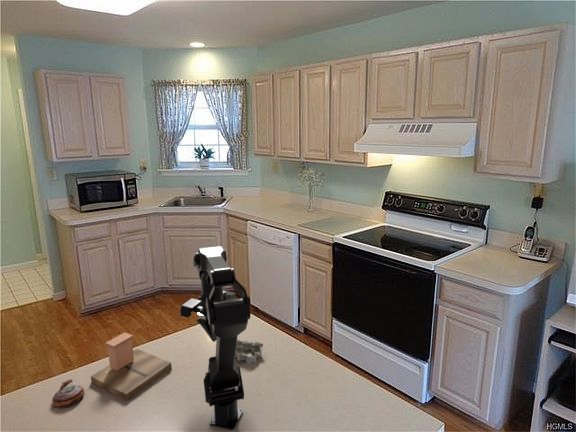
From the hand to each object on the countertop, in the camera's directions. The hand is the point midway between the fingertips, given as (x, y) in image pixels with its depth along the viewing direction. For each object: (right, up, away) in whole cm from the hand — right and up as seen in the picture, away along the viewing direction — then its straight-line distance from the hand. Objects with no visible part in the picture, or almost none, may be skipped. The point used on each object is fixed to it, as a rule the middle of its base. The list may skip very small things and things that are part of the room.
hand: (214, 340), depth 111 cm
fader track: (-25, -12, +5) cm, 28 cm away
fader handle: (-28, -9, +6) cm, 30 cm away
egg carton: (+7, -10, +15) cm, 19 cm away
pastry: (-38, -14, -5) cm, 41 cm away
